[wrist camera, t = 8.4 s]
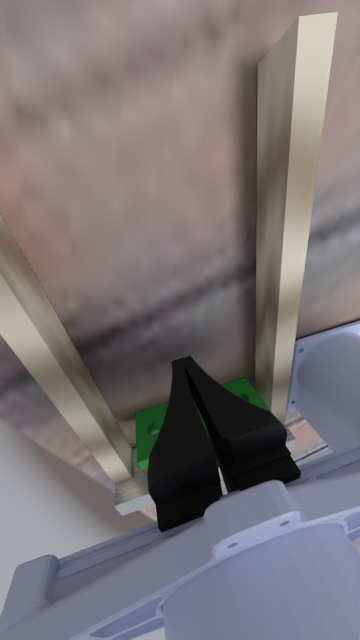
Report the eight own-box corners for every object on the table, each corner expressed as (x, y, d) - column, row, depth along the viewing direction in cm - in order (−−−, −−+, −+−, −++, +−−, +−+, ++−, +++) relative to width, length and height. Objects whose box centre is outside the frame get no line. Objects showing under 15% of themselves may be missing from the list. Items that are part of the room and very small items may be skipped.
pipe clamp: (145, 433, 19) (149, 485, 16) (134, 410, 18) (136, 463, 14) (246, 400, 20) (272, 441, 17) (245, 375, 19) (274, 415, 15)
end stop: (267, 413, 22) (293, 451, 18) (123, 464, 20) (122, 515, 17) (268, 401, 21) (295, 439, 17) (116, 454, 19) (114, 506, 16)
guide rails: (268, 401, 21) (284, 423, 19) (116, 454, 19) (115, 484, 17) (287, 60, 9) (337, 12, 7) (-104, 114, 7) (-200, 72, 5)
